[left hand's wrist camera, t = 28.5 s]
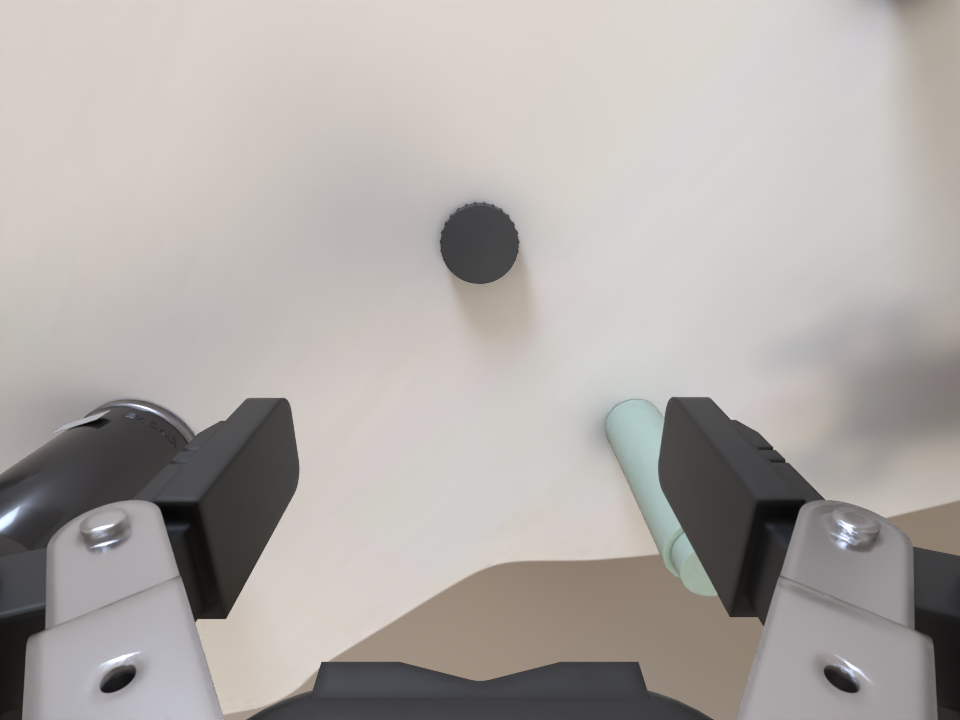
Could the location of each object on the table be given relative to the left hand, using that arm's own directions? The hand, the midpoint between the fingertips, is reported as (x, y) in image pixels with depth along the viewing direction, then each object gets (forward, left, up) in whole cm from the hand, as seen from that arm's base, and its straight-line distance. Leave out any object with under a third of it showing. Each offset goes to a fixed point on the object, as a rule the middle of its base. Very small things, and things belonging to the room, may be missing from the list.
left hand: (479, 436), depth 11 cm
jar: (-3, -18, -26) cm, 32 cm away
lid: (0, 0, -25) cm, 25 cm away
